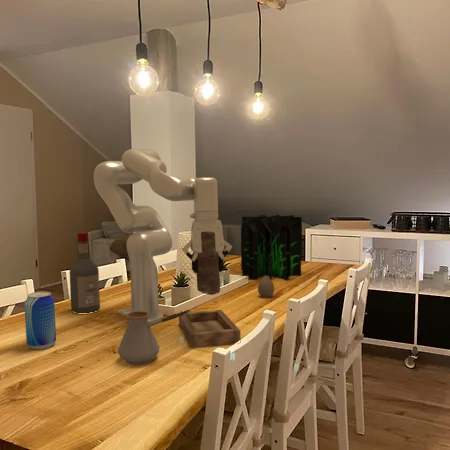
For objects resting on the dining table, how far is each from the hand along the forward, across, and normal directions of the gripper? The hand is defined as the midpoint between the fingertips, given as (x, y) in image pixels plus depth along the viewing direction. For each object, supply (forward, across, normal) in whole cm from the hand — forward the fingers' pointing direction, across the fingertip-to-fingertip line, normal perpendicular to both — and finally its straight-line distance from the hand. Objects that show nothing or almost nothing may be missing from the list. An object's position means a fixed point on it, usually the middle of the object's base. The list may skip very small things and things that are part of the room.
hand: (207, 271), depth 155 cm
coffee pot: (+21, -19, -18) cm, 34 cm away
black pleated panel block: (+20, +51, +82) cm, 98 cm away
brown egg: (+20, +34, +40) cm, 56 cm away
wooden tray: (+20, 0, 0) cm, 20 cm away
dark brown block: (+7, 0, 0) cm, 7 cm away
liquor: (+20, -39, +40) cm, 59 cm away
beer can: (+20, -51, +4) cm, 55 cm away
